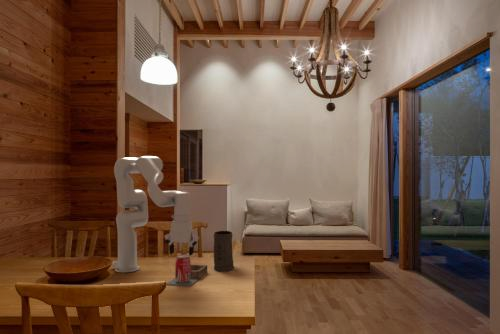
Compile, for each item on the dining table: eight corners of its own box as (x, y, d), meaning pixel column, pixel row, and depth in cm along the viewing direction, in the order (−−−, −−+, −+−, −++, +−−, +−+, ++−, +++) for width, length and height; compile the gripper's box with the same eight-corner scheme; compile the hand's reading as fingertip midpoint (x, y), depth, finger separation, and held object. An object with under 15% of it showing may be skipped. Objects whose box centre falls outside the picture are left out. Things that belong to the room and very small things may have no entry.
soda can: (176, 279, 179) (176, 254, 179) (191, 279, 179) (191, 254, 179) (174, 283, 171) (174, 257, 172) (190, 283, 172) (190, 257, 172)
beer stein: (230, 272, 192) (230, 234, 192) (210, 271, 194) (210, 233, 195) (237, 265, 207) (237, 229, 208) (219, 264, 209) (219, 228, 210)
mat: (166, 284, 172) (166, 283, 172) (175, 278, 182) (175, 277, 182) (190, 286, 169) (190, 285, 169) (198, 280, 179) (198, 279, 179)
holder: (176, 278, 182) (176, 270, 183) (185, 271, 194) (185, 264, 194) (199, 279, 180) (199, 271, 180) (207, 273, 191) (207, 265, 192)
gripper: (161, 218, 174) (161, 254, 174) (196, 220, 170) (195, 257, 170) (168, 216, 181) (168, 251, 181) (202, 217, 177) (201, 253, 177)
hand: (181, 254), depth 176 cm, fingers open, 9 cm apart
